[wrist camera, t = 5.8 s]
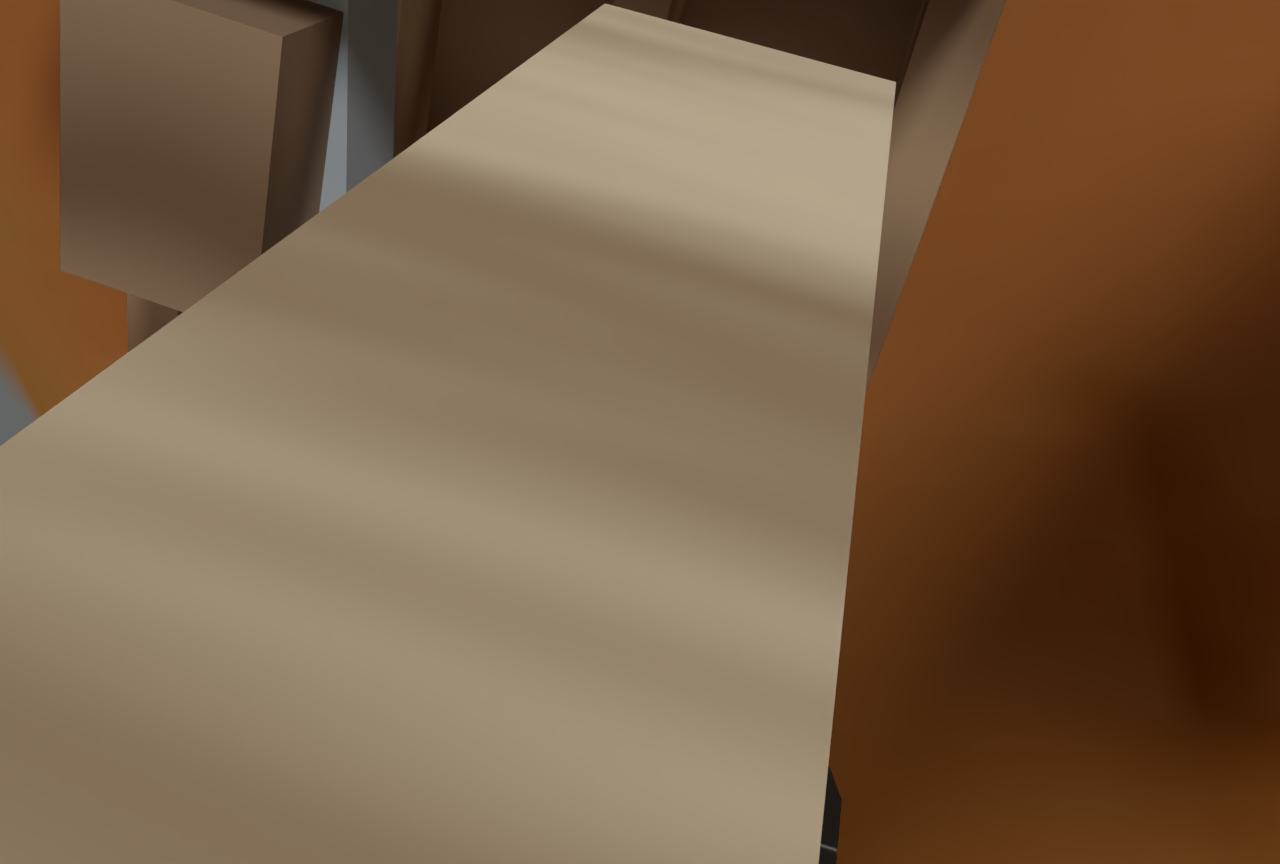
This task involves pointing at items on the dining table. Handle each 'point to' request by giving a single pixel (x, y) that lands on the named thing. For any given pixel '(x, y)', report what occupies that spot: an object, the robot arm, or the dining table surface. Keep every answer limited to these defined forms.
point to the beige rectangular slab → (475, 496)
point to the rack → (771, 17)
